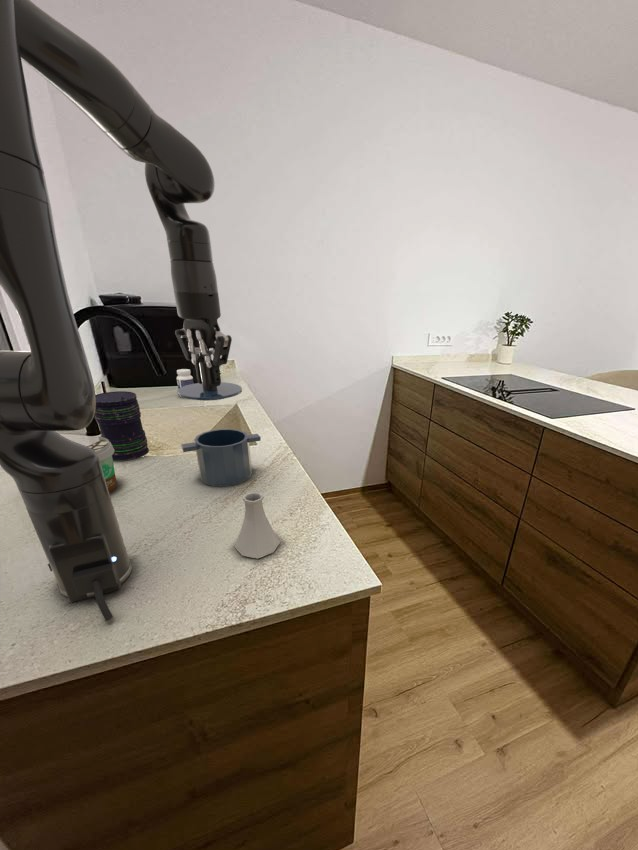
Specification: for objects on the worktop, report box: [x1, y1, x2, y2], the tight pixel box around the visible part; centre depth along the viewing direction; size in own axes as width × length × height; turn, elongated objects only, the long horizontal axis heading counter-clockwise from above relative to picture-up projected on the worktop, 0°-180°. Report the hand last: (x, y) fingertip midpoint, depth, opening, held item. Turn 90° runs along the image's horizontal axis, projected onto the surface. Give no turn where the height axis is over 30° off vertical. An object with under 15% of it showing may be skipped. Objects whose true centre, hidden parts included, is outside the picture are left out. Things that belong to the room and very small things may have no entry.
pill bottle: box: [176, 368, 195, 399], centre depth 146 cm, size 6×6×10 cm
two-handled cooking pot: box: [181, 428, 261, 488], centre depth 89 cm, size 11×17×10 cm
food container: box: [86, 436, 118, 494], centre depth 80 cm, size 12×6×10 cm, turn 168°
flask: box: [234, 491, 281, 560], centre depth 65 cm, size 7×7×10 cm
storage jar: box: [94, 390, 150, 462], centre depth 96 cm, size 10×10×15 cm
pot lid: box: [176, 360, 243, 402], centre depth 78 cm, size 12×12×7 cm
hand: (209, 384), depth 78 cm, fingers closed on pot lid, 3 cm apart
